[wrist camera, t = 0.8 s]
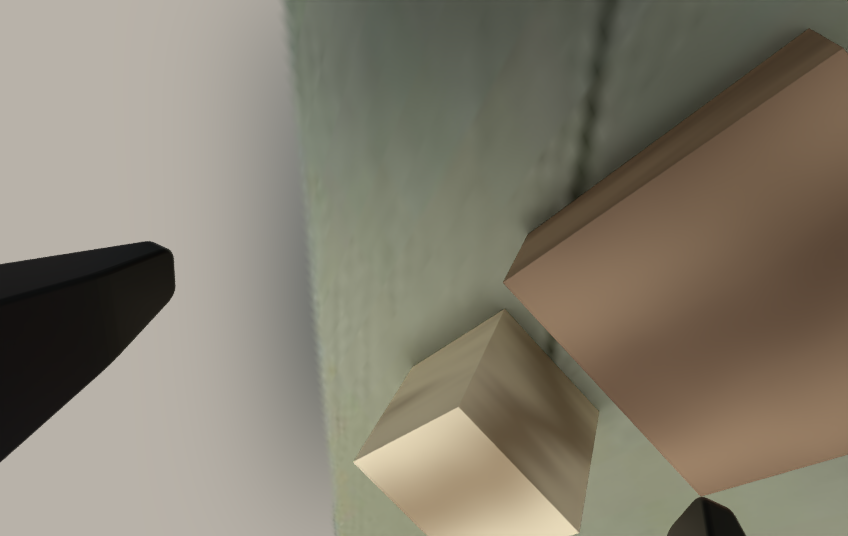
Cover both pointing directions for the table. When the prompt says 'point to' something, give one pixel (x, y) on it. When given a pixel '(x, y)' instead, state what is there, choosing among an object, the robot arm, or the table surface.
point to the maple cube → (486, 439)
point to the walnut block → (717, 276)
